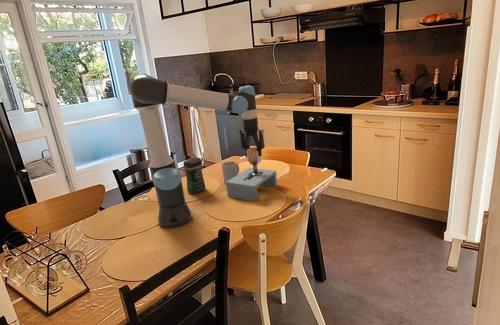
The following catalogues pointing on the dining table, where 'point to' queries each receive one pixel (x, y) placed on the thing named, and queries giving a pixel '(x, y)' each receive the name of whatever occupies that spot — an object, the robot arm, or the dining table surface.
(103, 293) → the dining table surface
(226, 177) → the mug
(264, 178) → the platform
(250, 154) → the peg
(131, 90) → the robot arm
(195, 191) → the coffee jar
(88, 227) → the dining table surface
